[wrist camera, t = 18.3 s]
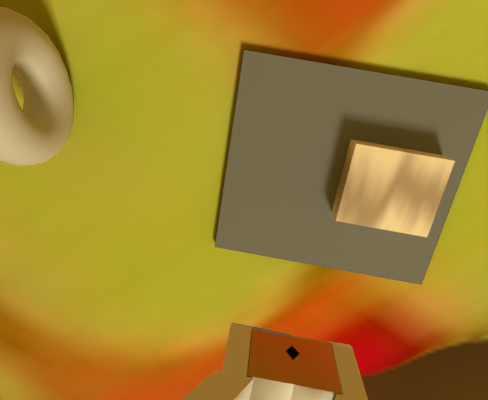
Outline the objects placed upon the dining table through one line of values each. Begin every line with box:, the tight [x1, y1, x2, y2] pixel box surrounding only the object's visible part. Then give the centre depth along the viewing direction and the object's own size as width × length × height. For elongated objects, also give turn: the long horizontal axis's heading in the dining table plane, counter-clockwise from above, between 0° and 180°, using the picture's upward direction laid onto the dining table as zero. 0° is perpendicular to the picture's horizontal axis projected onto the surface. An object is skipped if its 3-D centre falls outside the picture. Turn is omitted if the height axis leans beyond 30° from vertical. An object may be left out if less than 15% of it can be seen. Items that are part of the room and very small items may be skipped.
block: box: [332, 139, 455, 237], centre depth 27 cm, size 6×2×7 cm
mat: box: [215, 50, 488, 285], centre depth 28 cm, size 16×18×1 cm
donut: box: [0, 6, 74, 166], centre depth 24 cm, size 10×4×10 cm, turn 3°
